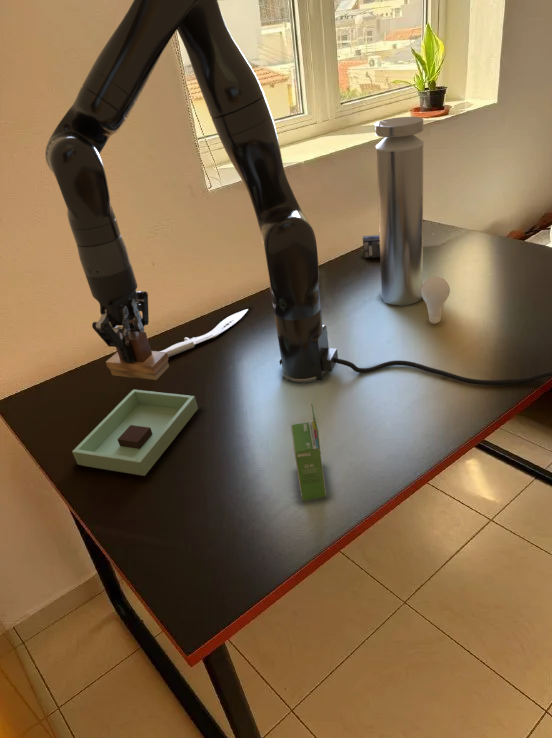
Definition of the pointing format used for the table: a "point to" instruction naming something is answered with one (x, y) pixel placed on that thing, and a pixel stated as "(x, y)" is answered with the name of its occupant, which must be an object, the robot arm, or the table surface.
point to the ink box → (308, 459)
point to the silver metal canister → (400, 209)
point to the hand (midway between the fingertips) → (136, 356)
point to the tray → (139, 410)
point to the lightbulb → (435, 296)
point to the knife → (216, 331)
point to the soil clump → (135, 436)
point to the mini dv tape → (371, 246)
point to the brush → (139, 360)
